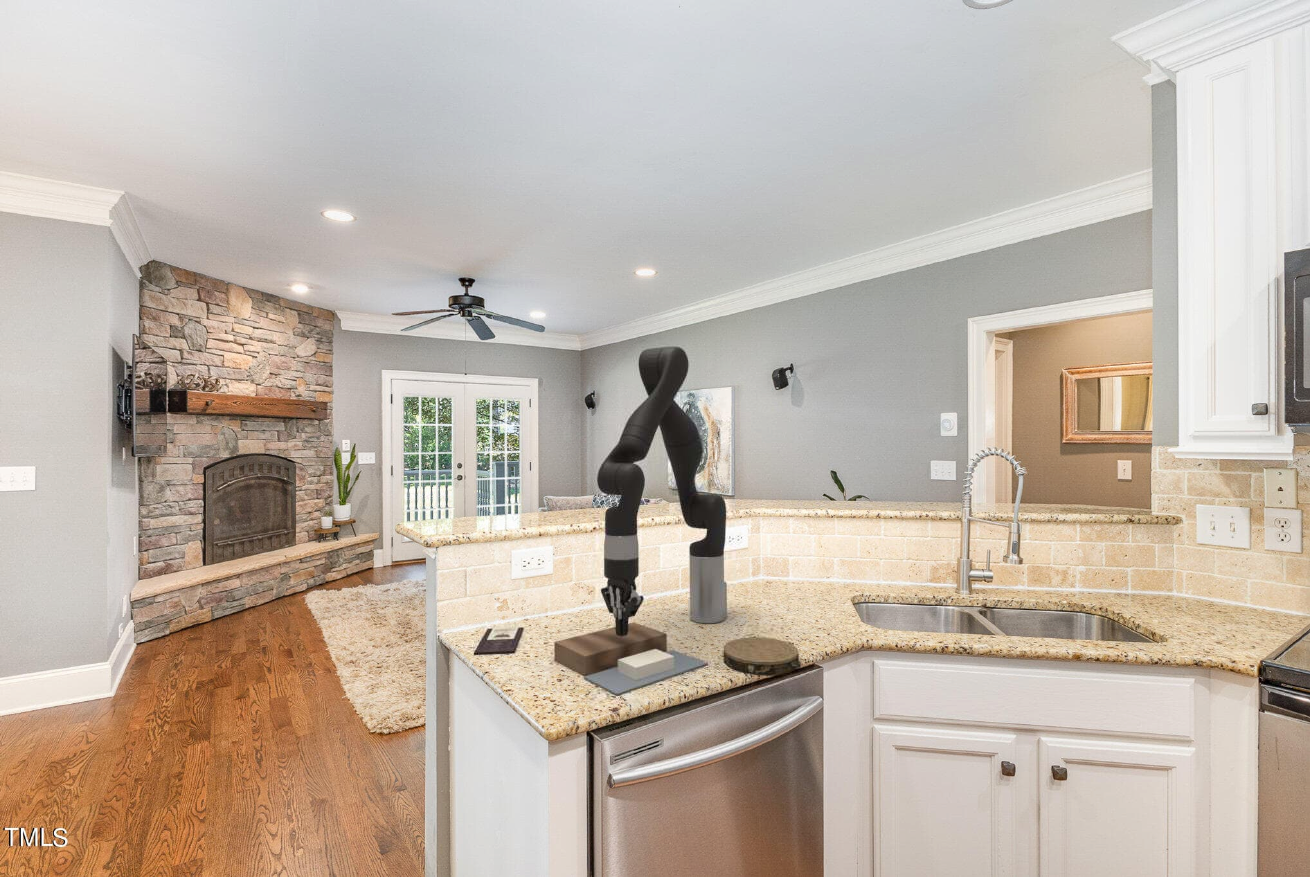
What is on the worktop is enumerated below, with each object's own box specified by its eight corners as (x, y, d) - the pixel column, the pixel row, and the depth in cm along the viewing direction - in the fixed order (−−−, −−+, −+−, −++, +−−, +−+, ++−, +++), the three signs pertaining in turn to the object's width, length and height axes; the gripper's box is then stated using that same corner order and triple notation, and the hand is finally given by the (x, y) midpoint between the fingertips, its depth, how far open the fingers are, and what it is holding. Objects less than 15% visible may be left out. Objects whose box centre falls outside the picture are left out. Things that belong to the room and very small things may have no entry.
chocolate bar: (473, 652, 136) (487, 628, 154) (473, 657, 136) (487, 632, 154) (514, 651, 137) (523, 627, 155) (514, 655, 137) (523, 631, 155)
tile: (674, 656, 126) (674, 668, 126) (655, 648, 130) (655, 660, 130) (635, 667, 119) (635, 680, 119) (617, 659, 124) (617, 671, 124)
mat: (673, 651, 137) (673, 649, 137) (707, 664, 129) (707, 663, 129) (583, 678, 121) (583, 676, 121) (616, 695, 113) (616, 693, 113)
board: (633, 638, 146) (633, 622, 146) (666, 651, 137) (666, 633, 137) (554, 660, 132) (554, 641, 132) (585, 676, 123) (585, 656, 123)
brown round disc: (814, 664, 129) (813, 650, 129) (765, 683, 119) (764, 668, 119) (756, 645, 142) (756, 632, 142) (708, 661, 132) (707, 647, 132)
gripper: (654, 557, 129) (654, 638, 129) (617, 549, 139) (617, 625, 139) (625, 561, 124) (626, 646, 124) (589, 553, 134) (590, 631, 134)
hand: (621, 635), depth 132 cm, fingers closed
